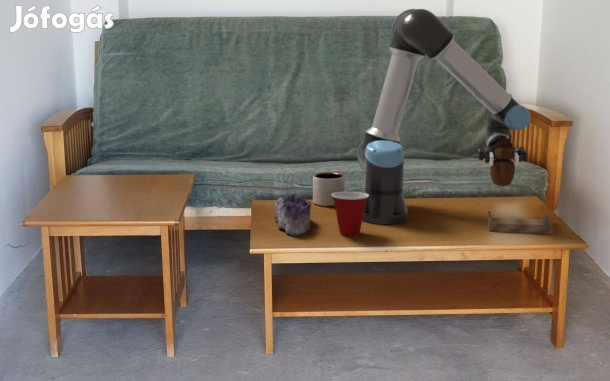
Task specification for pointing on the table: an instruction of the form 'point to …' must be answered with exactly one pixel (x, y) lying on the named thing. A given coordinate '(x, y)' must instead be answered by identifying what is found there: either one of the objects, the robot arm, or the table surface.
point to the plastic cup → (349, 211)
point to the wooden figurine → (503, 164)
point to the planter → (327, 187)
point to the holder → (520, 225)
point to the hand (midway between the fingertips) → (504, 161)
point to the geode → (293, 215)
